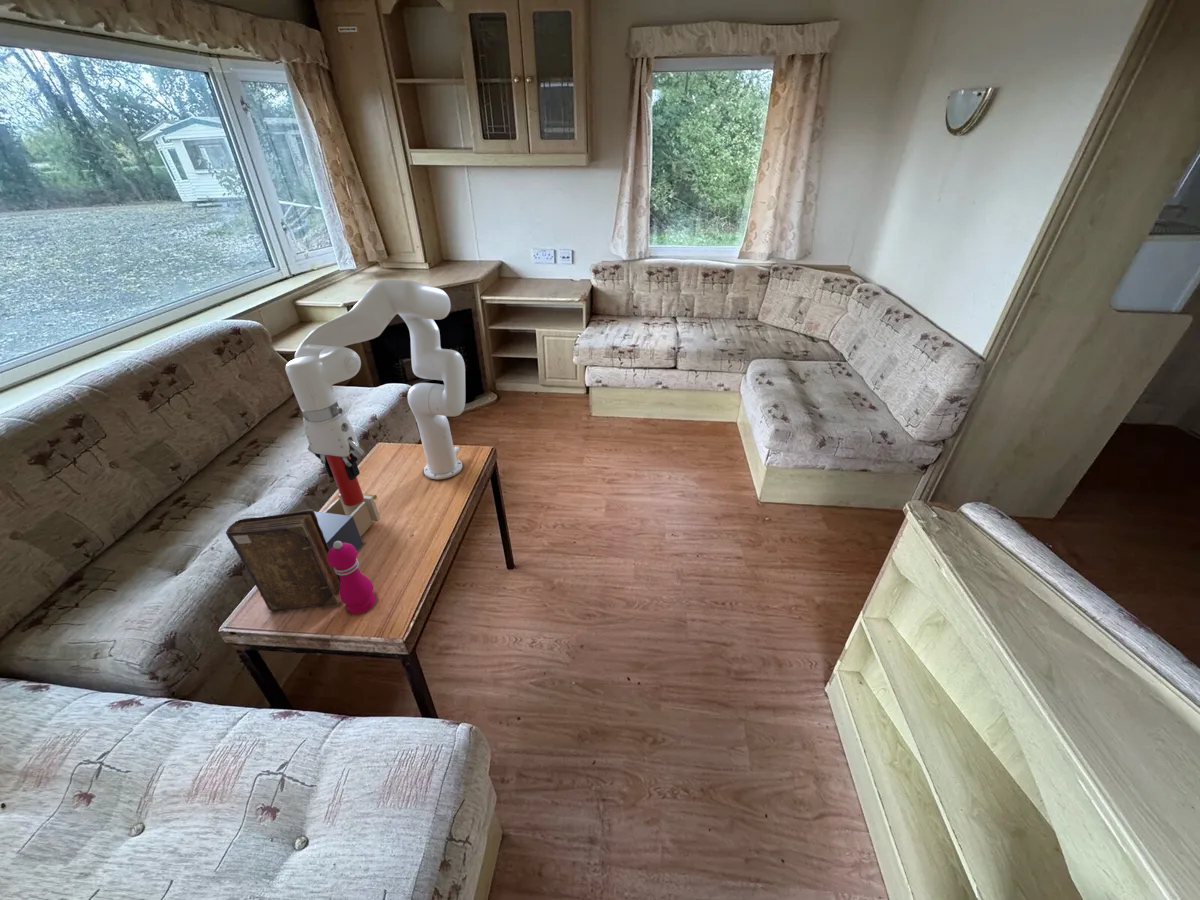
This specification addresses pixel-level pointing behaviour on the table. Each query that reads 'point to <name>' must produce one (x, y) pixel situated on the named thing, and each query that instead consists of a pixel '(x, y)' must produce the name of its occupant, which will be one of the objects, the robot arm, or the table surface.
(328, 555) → the pepper mill
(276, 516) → the book
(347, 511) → the drawer
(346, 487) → the ketchup bottle
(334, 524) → the dark blue angular piece
